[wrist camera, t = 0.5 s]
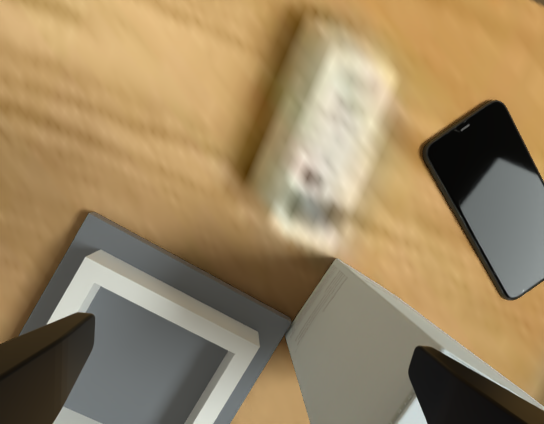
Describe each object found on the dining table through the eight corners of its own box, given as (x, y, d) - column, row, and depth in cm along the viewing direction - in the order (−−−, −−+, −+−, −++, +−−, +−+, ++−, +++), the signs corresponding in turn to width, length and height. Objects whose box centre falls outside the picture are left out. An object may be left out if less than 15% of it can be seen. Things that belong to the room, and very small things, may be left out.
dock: (184, 489, 24) (177, 530, 21) (-16, 404, 22) (-54, 437, 19) (290, 317, 23) (296, 336, 20) (94, 211, 21) (72, 216, 18)
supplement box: (281, 334, 23) (326, 514, 11) (335, 254, 23) (447, 343, 10) (356, 379, 24) (478, 592, 12) (409, 304, 24) (592, 438, 12)
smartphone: (572, 252, 25) (493, 96, 23) (583, 255, 25) (502, 93, 22) (500, 302, 25) (414, 149, 23) (509, 306, 24) (421, 148, 22)
